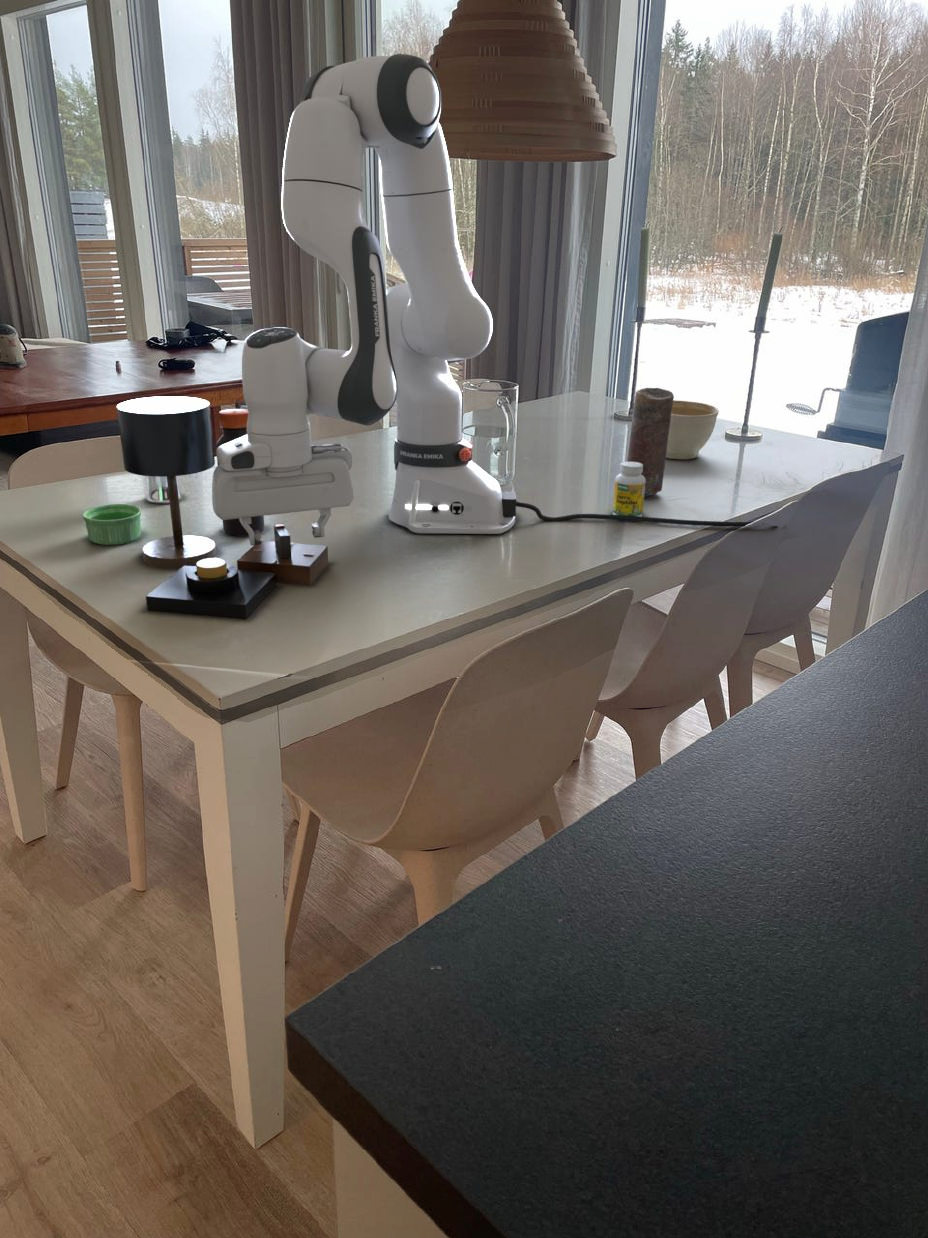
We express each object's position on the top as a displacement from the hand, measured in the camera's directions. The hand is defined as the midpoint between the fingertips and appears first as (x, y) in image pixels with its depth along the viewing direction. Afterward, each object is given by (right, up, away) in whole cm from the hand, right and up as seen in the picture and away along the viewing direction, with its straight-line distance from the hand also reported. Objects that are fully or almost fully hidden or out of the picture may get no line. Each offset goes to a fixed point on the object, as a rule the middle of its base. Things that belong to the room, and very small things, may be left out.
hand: (287, 540), depth 138 cm
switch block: (-9, -9, -8) cm, 15 cm away
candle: (+61, +13, +44) cm, 77 cm away
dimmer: (-1, -5, +2) cm, 5 cm away
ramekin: (-31, +1, +15) cm, 34 cm away
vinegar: (-11, +3, +19) cm, 22 cm away
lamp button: (-9, -6, -10) cm, 14 cm away
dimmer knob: (-1, -2, +1) cm, 2 cm away
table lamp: (-18, -2, +7) cm, 20 cm away
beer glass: (-29, +10, +35) cm, 47 cm away
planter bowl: (+75, +25, +74) cm, 108 cm away
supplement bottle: (+56, +7, +31) cm, 64 cm away
